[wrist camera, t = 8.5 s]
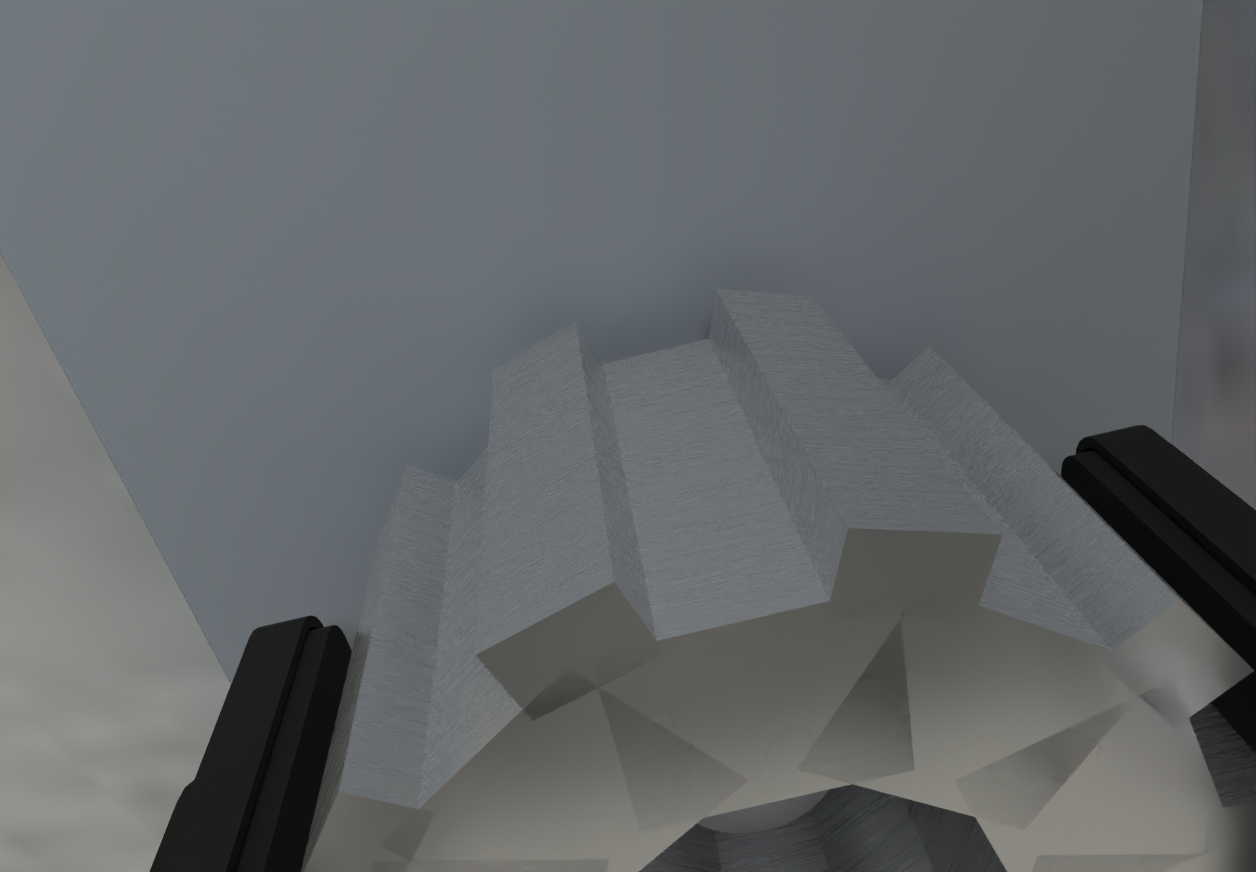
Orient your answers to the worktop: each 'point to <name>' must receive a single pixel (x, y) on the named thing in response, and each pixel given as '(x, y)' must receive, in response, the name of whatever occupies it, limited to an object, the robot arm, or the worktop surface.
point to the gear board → (561, 230)
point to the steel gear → (770, 635)
